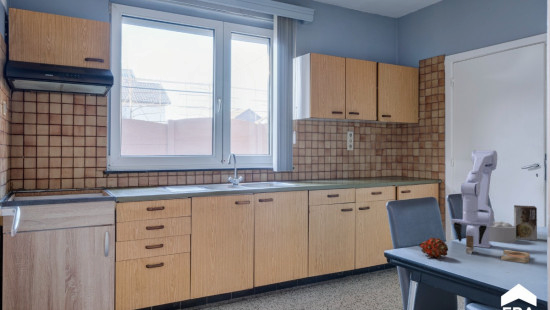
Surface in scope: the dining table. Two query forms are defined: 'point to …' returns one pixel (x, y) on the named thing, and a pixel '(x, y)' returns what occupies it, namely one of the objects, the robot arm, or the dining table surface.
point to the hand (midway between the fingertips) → (470, 242)
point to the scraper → (469, 244)
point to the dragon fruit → (434, 247)
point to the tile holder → (515, 259)
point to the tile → (515, 256)
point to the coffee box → (525, 222)
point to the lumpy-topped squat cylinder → (502, 232)
